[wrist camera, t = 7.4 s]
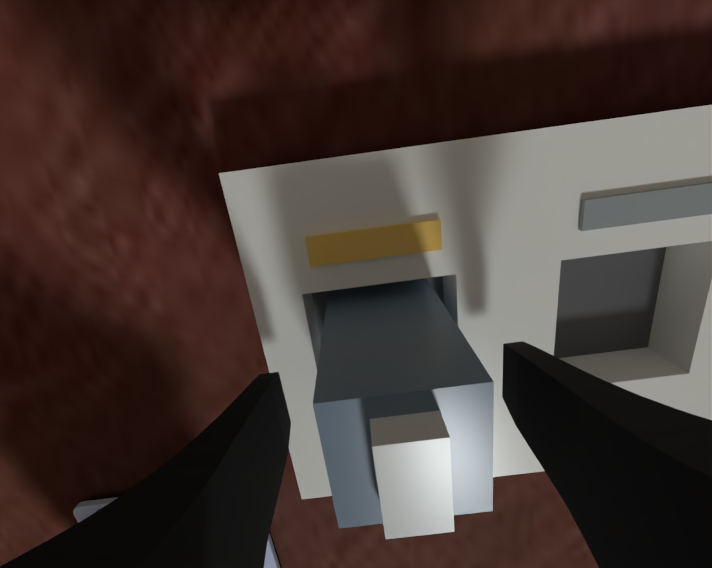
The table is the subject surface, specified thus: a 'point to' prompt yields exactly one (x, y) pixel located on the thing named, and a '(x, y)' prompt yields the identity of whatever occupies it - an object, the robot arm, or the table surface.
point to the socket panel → (497, 257)
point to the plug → (402, 411)
